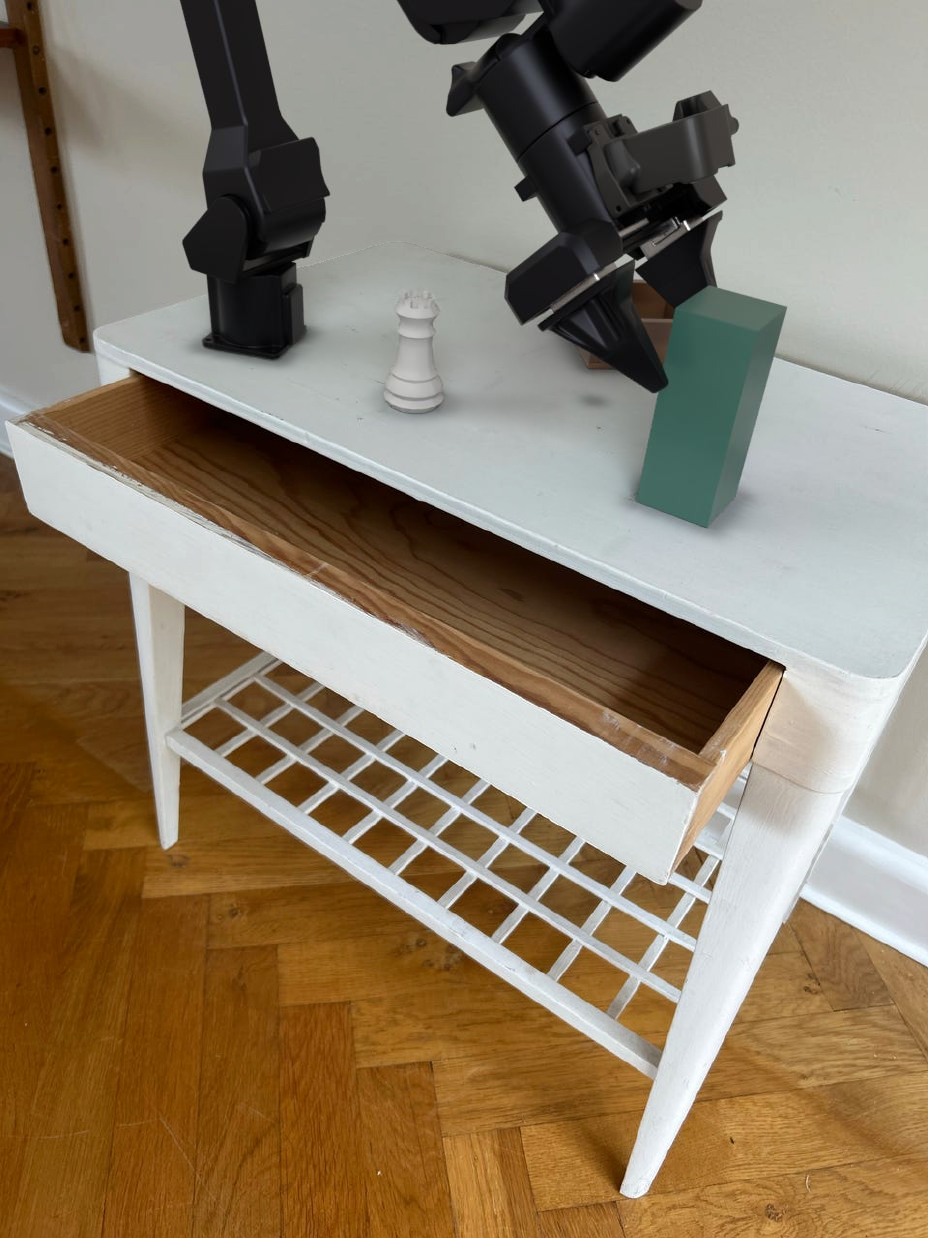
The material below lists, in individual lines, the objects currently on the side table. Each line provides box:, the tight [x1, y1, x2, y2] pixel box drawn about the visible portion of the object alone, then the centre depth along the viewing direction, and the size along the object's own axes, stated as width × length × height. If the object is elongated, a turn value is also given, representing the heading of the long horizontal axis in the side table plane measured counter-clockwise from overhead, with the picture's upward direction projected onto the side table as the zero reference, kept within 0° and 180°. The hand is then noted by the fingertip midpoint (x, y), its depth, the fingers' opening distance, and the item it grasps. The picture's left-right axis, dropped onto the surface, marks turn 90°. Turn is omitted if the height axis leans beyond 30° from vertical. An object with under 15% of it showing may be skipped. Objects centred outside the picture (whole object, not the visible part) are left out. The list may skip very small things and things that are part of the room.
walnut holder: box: [575, 278, 675, 370], centre depth 85 cm, size 10×10×4 cm
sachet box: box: [635, 285, 788, 529], centre depth 62 cm, size 5×5×13 cm
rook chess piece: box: [383, 289, 444, 414], centre depth 72 cm, size 4×4×8 cm
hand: (693, 364), depth 62 cm, fingers open, 9 cm apart
